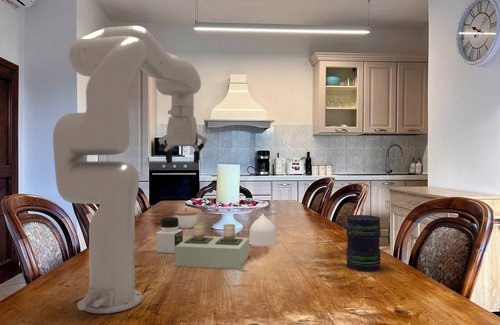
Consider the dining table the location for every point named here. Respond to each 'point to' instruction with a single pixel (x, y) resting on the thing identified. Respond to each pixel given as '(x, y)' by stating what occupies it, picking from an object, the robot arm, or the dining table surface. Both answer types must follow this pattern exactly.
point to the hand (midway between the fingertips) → (182, 163)
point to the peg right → (229, 233)
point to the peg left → (199, 232)
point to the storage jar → (363, 243)
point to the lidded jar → (186, 218)
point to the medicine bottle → (168, 235)
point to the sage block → (212, 253)
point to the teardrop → (262, 232)
